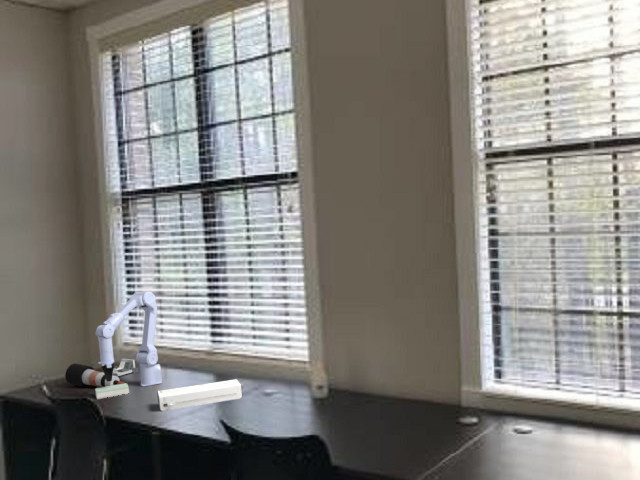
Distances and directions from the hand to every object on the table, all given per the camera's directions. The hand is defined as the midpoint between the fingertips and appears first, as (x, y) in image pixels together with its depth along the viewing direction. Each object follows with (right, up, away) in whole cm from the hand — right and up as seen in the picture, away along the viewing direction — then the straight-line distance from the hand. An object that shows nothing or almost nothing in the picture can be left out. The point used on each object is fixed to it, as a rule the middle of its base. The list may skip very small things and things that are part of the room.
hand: (109, 381), depth 317 cm
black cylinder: (-11, -7, +20) cm, 24 cm away
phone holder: (-9, -6, +43) cm, 44 cm away
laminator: (+46, -4, -25) cm, 52 cm away
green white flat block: (+1, -6, +1) cm, 7 cm away
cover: (+1, -4, +1) cm, 4 cm away
